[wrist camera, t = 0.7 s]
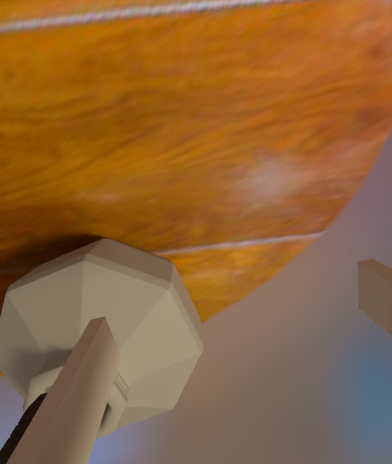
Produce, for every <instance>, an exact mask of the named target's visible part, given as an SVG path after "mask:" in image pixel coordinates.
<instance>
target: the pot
mask: <svg viewBox="0 0 392 464" xmlns="http://www.w3.org/2000/svg"><path fill="white" fill-rule="evenodd" d="M104 316H105V317H106V320H107V322H108V325H109V327H110V330H111V332H112V335H113V337H114V340H115V343H116V345H117V348H118V350H119V353H120V355H121V361H120V364H119V367H118V370H117V374H116V377H115V380H114V383H113V386H112V389H111V392H110V395H109V398H108V401H107V405H106V408H105V411H104V414H103V417H102V420H101V423H100V426H99V429H98V432H97V436H96V439H97V438H100V437H102V436H106V435H108V434H111V433H113V432H114V431H115V430H116V429H118V428H121V427H124V426H126V425H129V424H132V423H135V422H138V421H141V420H143V419H146V418H149V417H152V416H155V415H158V414H160V413H163V412H166V411H169V410H172V409H173V408H174V406H175V405H176V403H177V401H178V399H179V397H180V395H181V393H182V391H183V389H184V387H185V384H186V383H187V381H188V379H189V377H190V375H191V373H192V371H193V369H194V367H195V365H196V363H197V361H198V359H199V357H200V355H201V352H202V351H203V349H204V345H203V338H202V329H201V321H200V316H199V314H198V312H197V310H196V308H195V306H194V304H193V302H192V300H191V298H190V296H189V294H188V292H187V289H186V287H185V285H184V283H183V281H182V279H181V277H180V275H179V273H178V271H177V269H176V267H175V265H174V263H172V262H171V261H170V260H168V259H165V258H163V257H160V256H157V255H154V254H151V253H149V252H146V251H143V250H140V249H138V248H135V247H132V246H129V245H127V244H124V243H121V242H118V241H115V240H113V239H108V238H102V239H100V240H98V241H95V242H93V243H91V244H88V245H86V246H83V247H81V248H79V249H76V250H74V251H72V252H69V253H67V254H65V255H62V256H60V257H57V258H55V259H53V260H50V261H48V262H46V263H43V264H41V265H39V266H38V267H36V268H35V269H33V270H32V271H30V272H29V273H27V274H26V275H24V276H23V277H21V278H20V279H19V280H17V281H16V282H14V283H13V284H11V285H10V286H9V287H8V289H7V292H6V295H5V299H4V304H3V308H2V313H1V317H0V371H1V372H2V373H3V375H4V376H5V377H6V378H7V379H8V381H9V382H10V383H11V384H12V385H13V387H14V388H15V389H16V390H17V391H18V393H19V394H20V395H21V396H22V397H23V398H24V400H25V402H24V405H23V411H24V413H25V411H26V410H27V408H28V407H29V406H30V405H31V404H32V403H33V402H34V401H35V400H36V398H37V397H38V396H39V395H40V394H43V393H48V392H49V390H50V388H51V387H52V385H53V383H54V382H55V380H56V378H57V376H58V375H59V373H60V371H61V370H62V368H63V366H64V365H65V363H66V361H67V359H68V358H69V356H70V354H71V353H72V351H73V349H74V347H75V346H76V344H77V342H78V341H79V339H80V337H81V336H82V334H83V332H84V330H85V329H86V327H87V325H88V324H89V322H90V320H91V319H95V318H100V317H104Z"/></svg>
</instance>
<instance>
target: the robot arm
mask: <svg viewBox="0 0 392 464" xmlns="http://www.w3.org/2000/svg"><path fill="white" fill-rule="evenodd" d="M358 288H359V308H360V309H361V310H362V311H363V312H364V313H365V314H366V315H368V316H369V317H370V318H371V319H372V320H373V321H374V322H375V323H377V324H378V325H379V326H380V327H381V328H382V329H383V330H385V331H386V332H387V333H388V334H389V335H390V336H391V337H392V269H391V268H389V267H388V266H386V265H384V264H382V263H380V262H378V261H376V260H375V259H369V260H364V261H359V262H358ZM120 361H121V355H120V353H119V350H118V348H117V345H116V343H115V340H114V337H113V335H112V332H111V330H110V327H109V325H108V322H107V320H106V317H105V316H104V317H100V318H95V319H91V320H90V322H89V324H88V325H87V327H86V329H85V330H84V332H83V334H82V336H81V337H80V339H79V341H78V342H77V344H76V346H75V347H74V349H73V351H72V353H71V354H70V356H69V358H68V359H67V361H66V363H65V365H64V366H63V368H62V370H61V371H60V373H59V375H58V376H57V378H56V380H55V382H54V383H53V385H52V387H51V388H50V390H49V392H48V393H43V394H40V395H39V396H38V397H37V398H36V400H35V401H34V402H33V403H32V404H31V405H30V406H29V407H28V408H27V410H26V411H25V413H24V414H23V416H22V418H21V419H20V421H19V422H18V425H17V426H16V427H15V429H14V430H13V432H12V434H11V436H10V438H9V439H8V440H7V441H6V443H5V445H4V446H3V448H2V449H1V451H0V464H87V463H88V460H89V457H90V454H91V451H92V448H93V445H94V442H95V439H96V436H97V432H98V429H99V426H100V423H101V420H102V417H103V414H104V411H105V408H106V405H107V401H108V398H109V395H110V392H111V389H112V386H113V383H114V380H115V377H116V374H117V370H118V367H119V364H120Z"/></svg>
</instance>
